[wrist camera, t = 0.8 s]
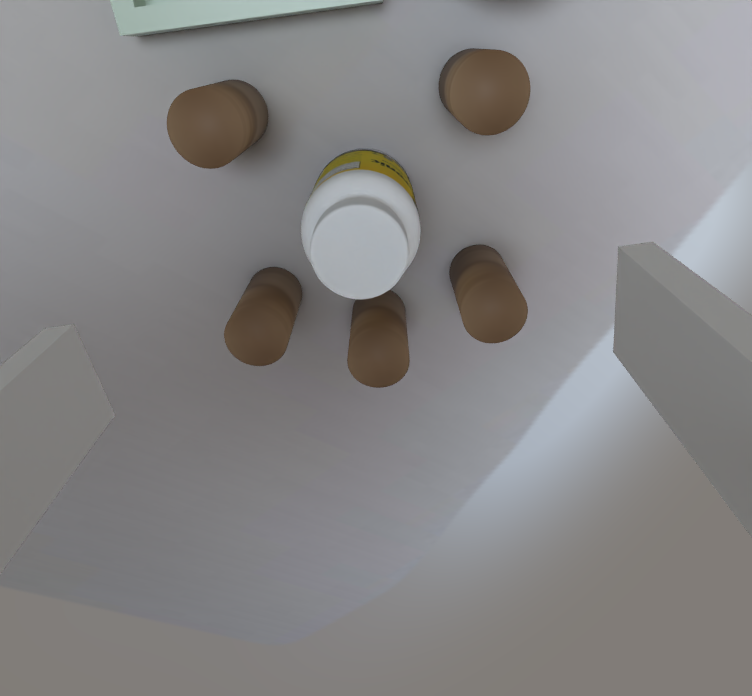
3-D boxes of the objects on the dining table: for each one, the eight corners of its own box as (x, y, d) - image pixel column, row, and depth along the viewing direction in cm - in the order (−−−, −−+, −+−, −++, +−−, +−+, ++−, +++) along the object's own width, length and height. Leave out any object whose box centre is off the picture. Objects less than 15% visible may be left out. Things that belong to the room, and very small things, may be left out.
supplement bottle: (430, 217, 32) (448, 282, 23) (346, 260, 33) (333, 337, 24) (385, 126, 29) (386, 160, 21) (296, 176, 31) (263, 228, 22)
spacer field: (262, 347, 36) (241, 400, 30) (198, 83, 29) (157, 93, 23) (504, 323, 35) (527, 373, 29) (502, 44, 28) (530, 44, 22)
